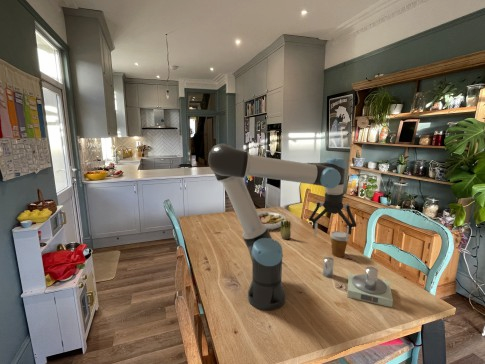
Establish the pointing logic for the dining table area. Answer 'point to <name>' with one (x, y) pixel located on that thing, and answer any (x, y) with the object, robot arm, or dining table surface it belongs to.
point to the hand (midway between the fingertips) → (330, 238)
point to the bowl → (271, 219)
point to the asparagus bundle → (285, 229)
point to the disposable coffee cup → (338, 243)
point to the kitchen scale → (369, 291)
